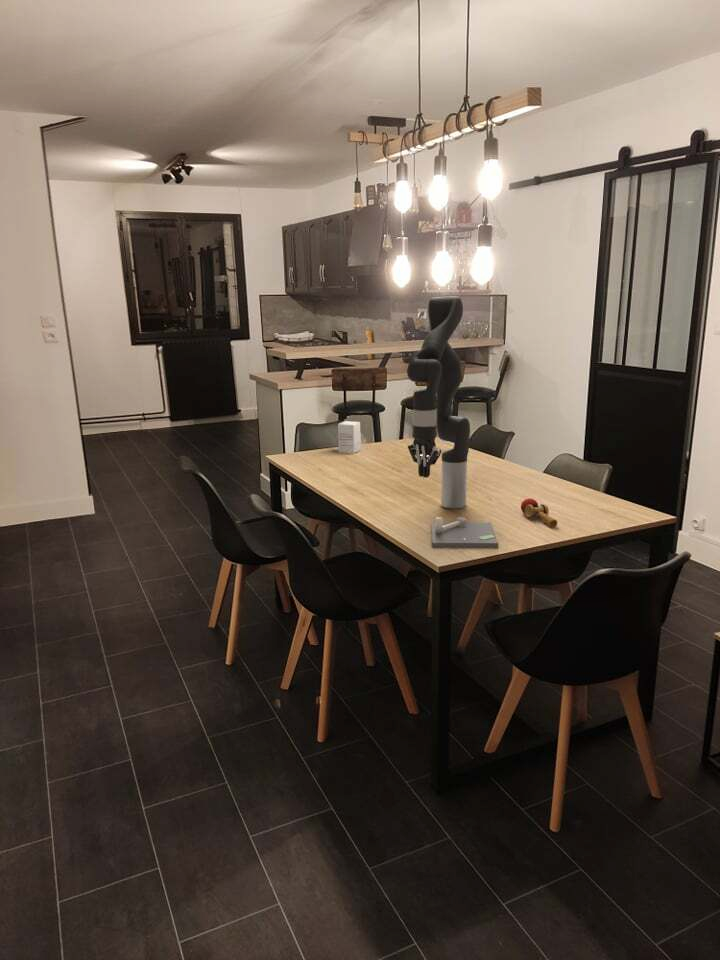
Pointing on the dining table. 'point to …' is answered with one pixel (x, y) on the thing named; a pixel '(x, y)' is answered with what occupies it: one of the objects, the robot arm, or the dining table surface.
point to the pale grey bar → (439, 524)
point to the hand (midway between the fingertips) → (424, 476)
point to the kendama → (537, 511)
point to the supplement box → (349, 436)
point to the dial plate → (465, 536)
